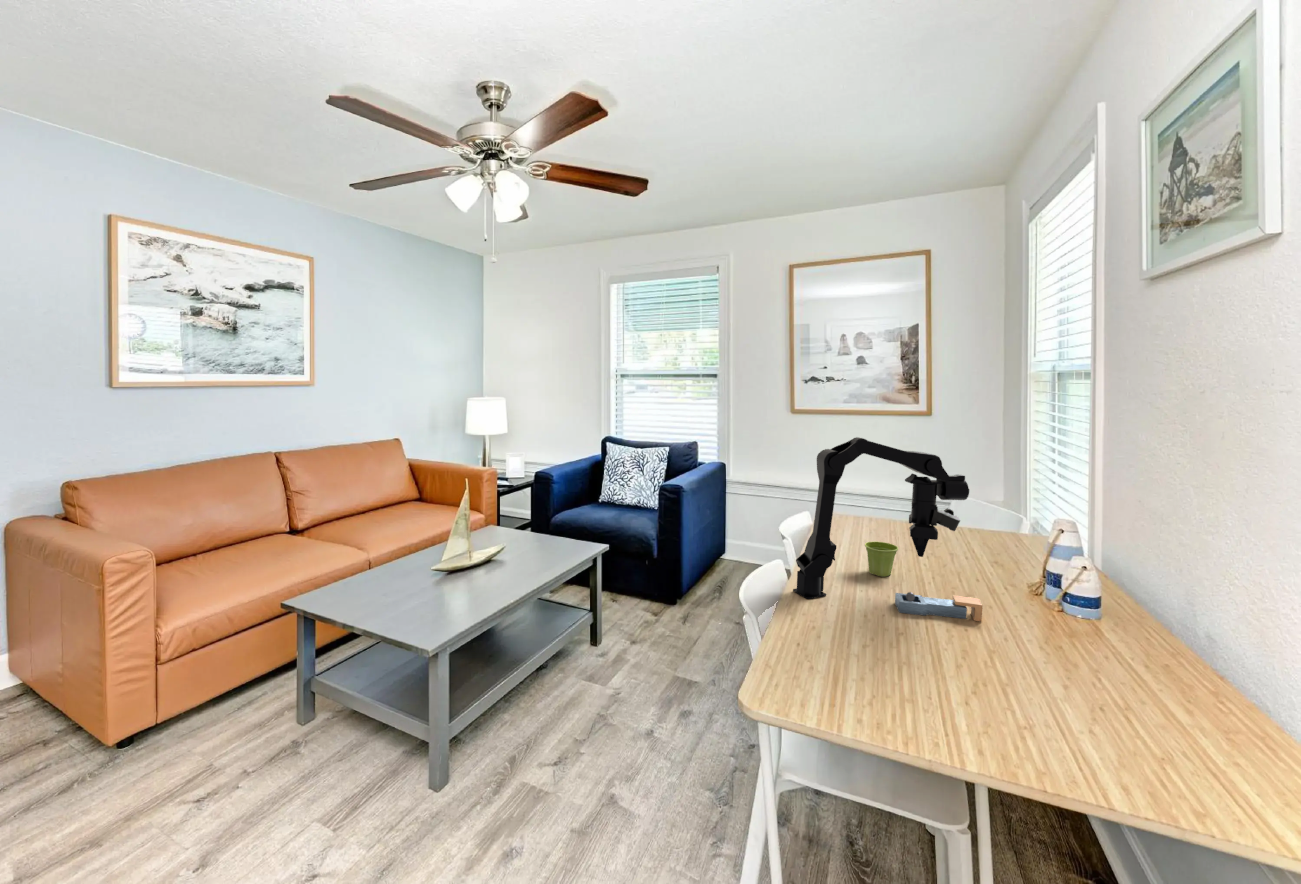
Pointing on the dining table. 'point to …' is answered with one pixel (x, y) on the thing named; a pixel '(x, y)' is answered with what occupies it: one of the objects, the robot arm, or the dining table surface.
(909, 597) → the cylinder
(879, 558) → the plant pot
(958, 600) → the keeper
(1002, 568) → the dining table surface
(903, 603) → the link
